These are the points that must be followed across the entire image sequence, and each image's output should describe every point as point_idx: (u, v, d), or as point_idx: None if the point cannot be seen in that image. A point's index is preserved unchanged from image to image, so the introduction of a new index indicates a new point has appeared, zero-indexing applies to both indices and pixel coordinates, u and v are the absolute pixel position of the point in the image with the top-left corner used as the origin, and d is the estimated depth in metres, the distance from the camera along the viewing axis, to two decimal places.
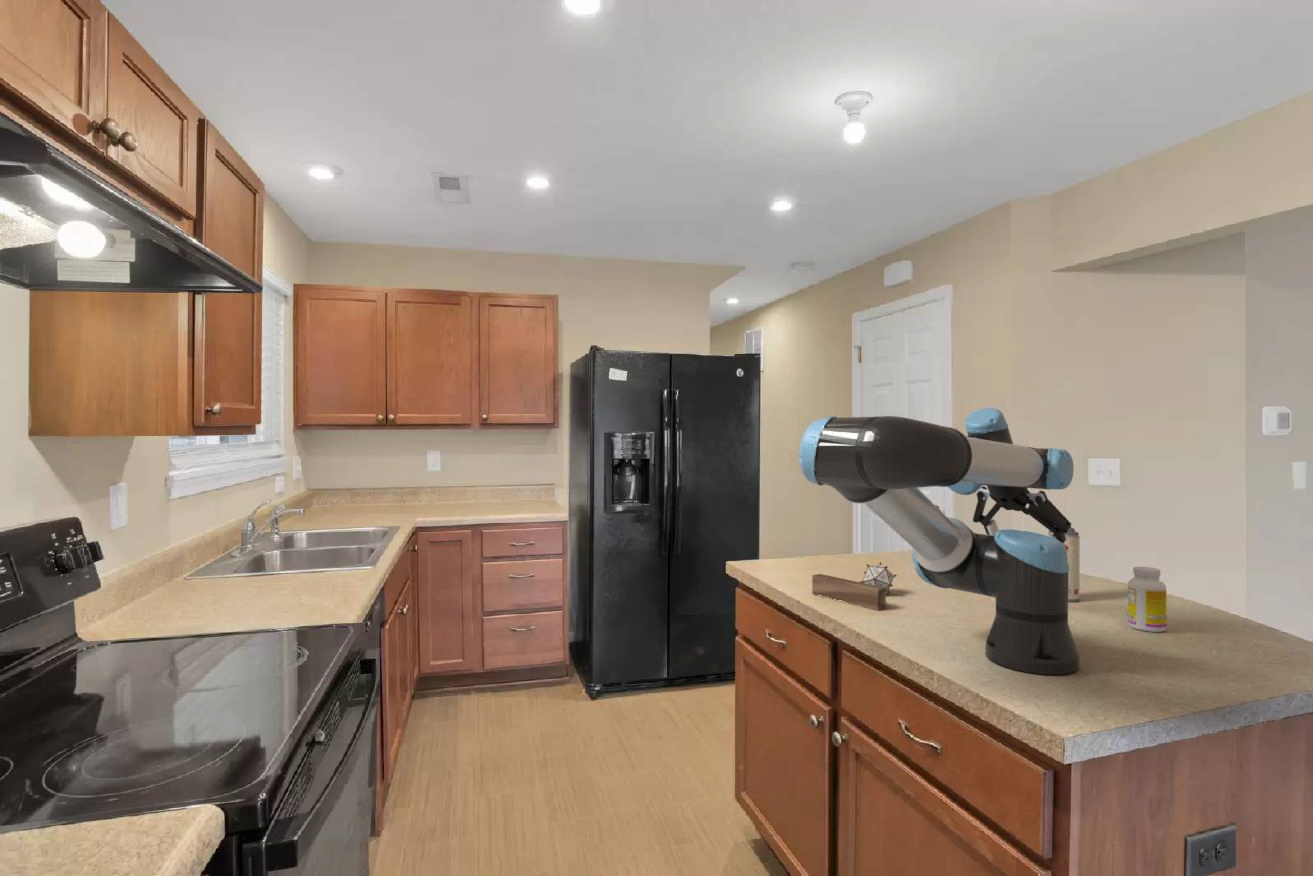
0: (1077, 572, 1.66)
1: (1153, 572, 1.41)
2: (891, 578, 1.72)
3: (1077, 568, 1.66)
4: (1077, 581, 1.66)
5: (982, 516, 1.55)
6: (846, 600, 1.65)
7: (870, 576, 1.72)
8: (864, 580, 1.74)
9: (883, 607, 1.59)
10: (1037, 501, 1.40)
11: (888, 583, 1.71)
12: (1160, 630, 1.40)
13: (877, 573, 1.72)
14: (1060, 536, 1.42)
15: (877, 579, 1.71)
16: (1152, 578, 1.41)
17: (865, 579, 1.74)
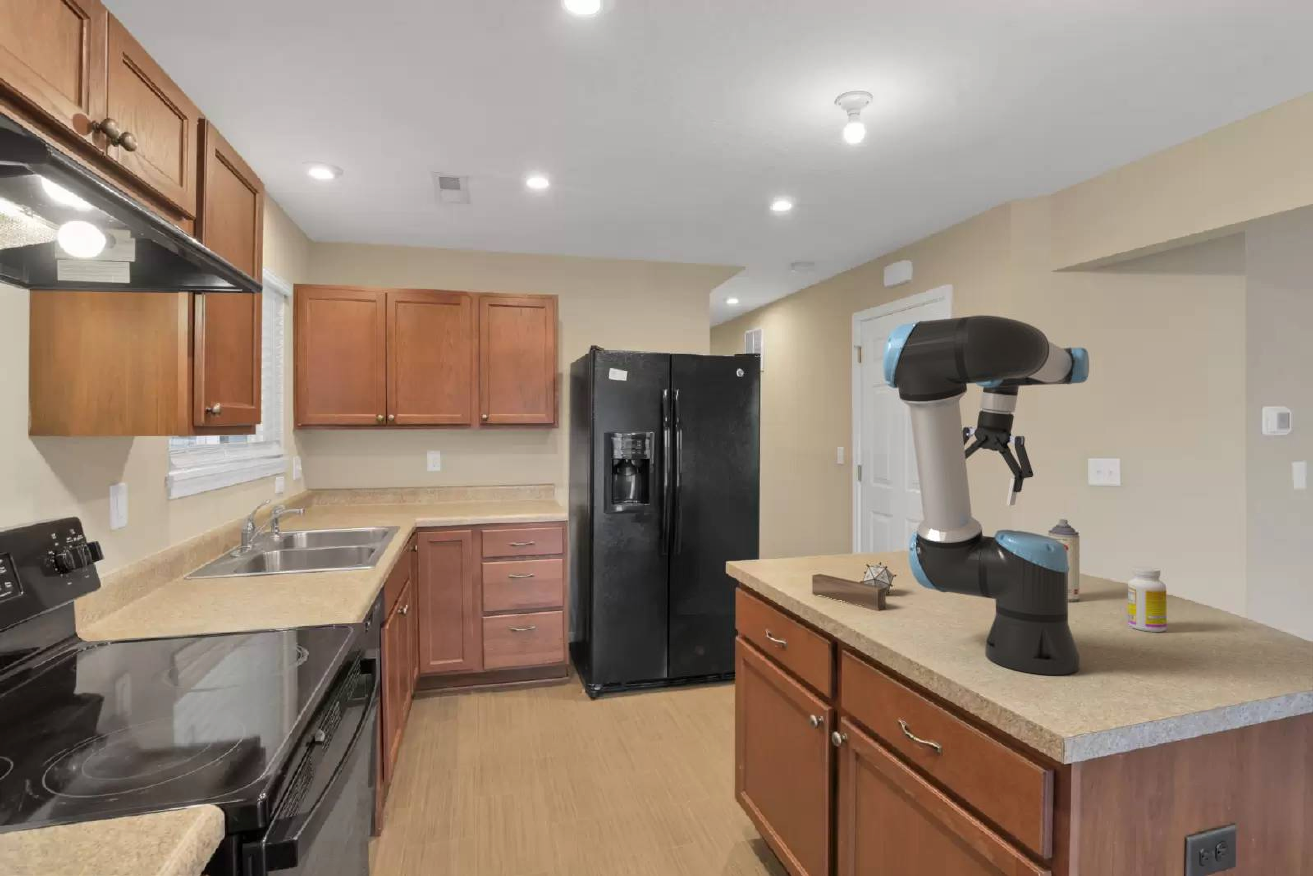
0: (1077, 572, 1.66)
1: (1153, 572, 1.41)
2: (891, 578, 1.72)
3: (1077, 568, 1.66)
4: (1077, 581, 1.66)
5: None
6: (846, 600, 1.65)
7: (870, 576, 1.72)
8: (864, 580, 1.74)
9: (883, 607, 1.59)
10: (1016, 440, 1.55)
11: (888, 583, 1.71)
12: (1160, 630, 1.40)
13: (877, 573, 1.72)
14: (1019, 483, 1.55)
15: (877, 579, 1.71)
16: (1152, 578, 1.41)
17: (865, 579, 1.74)
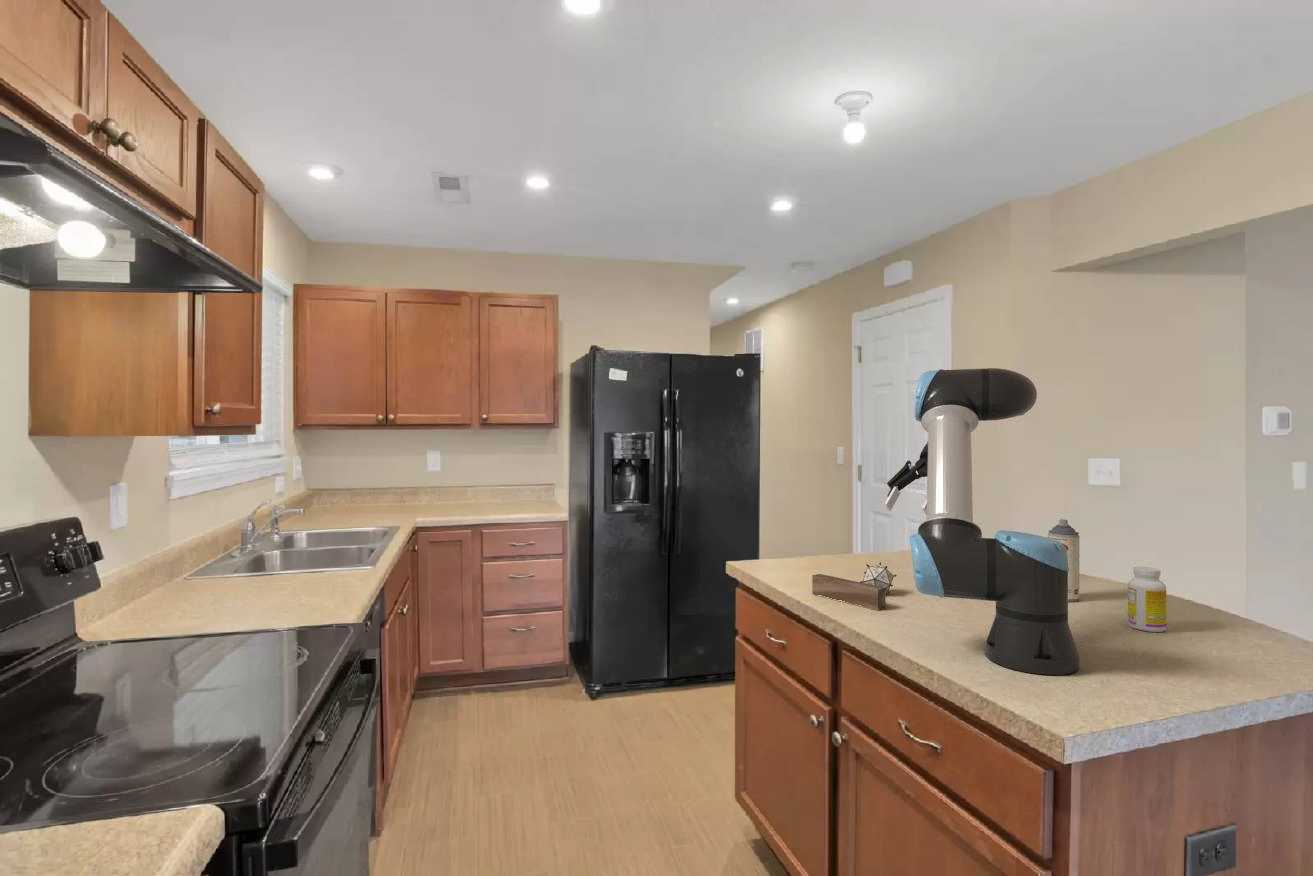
0: (1077, 572, 1.66)
1: (1153, 572, 1.41)
2: (891, 578, 1.72)
3: (1077, 568, 1.66)
4: (1077, 581, 1.66)
5: None
6: (846, 600, 1.65)
7: (870, 576, 1.72)
8: (864, 580, 1.74)
9: (883, 607, 1.59)
10: None
11: (888, 583, 1.71)
12: (1160, 630, 1.40)
13: (877, 573, 1.72)
14: None
15: (877, 579, 1.71)
16: (1152, 578, 1.41)
17: (865, 579, 1.74)
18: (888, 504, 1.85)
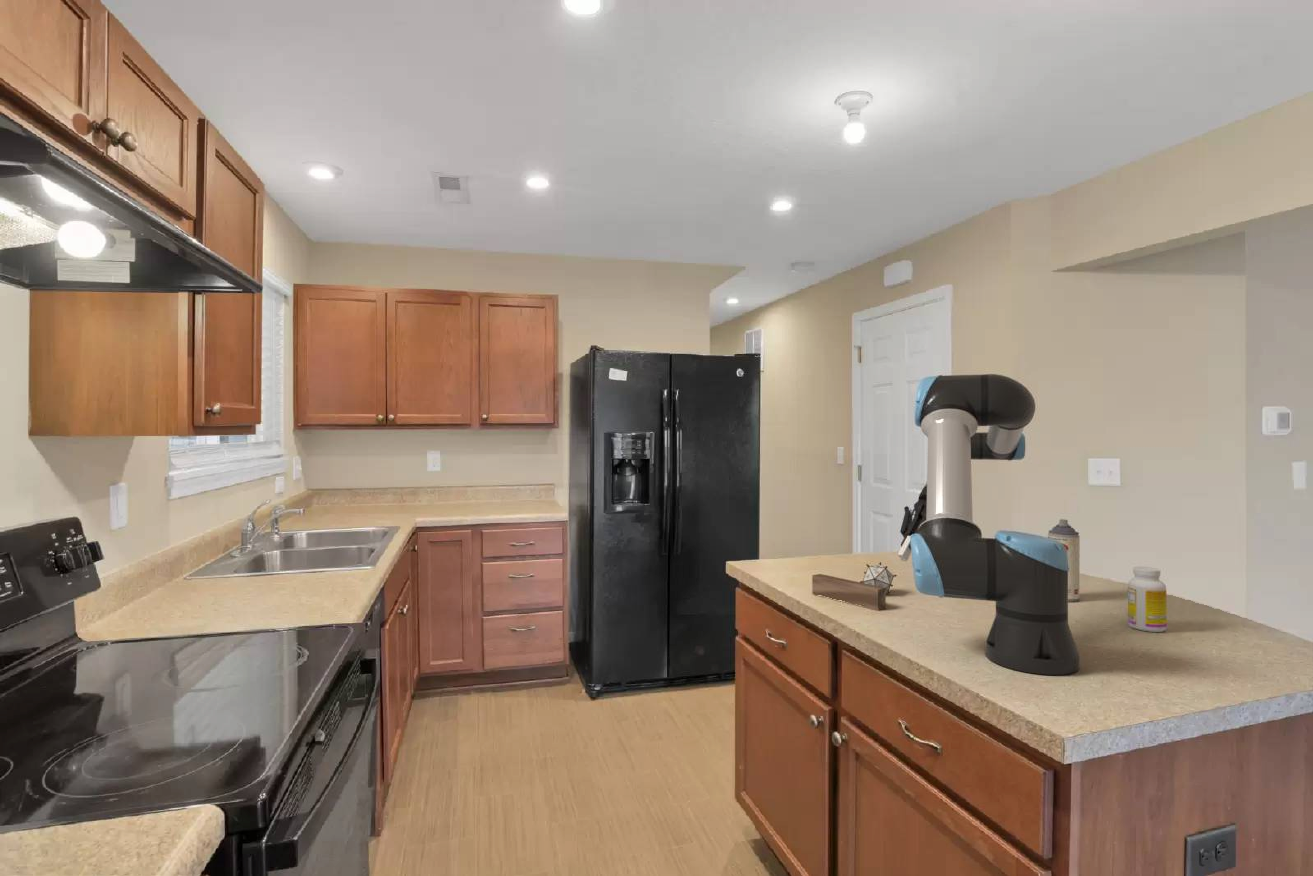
0: (1077, 572, 1.66)
1: (1153, 572, 1.41)
2: (891, 578, 1.72)
3: (1077, 568, 1.66)
4: (1077, 581, 1.66)
5: None
6: (846, 600, 1.65)
7: (870, 576, 1.72)
8: (864, 580, 1.74)
9: (883, 607, 1.59)
10: None
11: (888, 583, 1.71)
12: (1160, 630, 1.40)
13: (877, 573, 1.72)
14: None
15: (877, 579, 1.71)
16: (1152, 578, 1.41)
17: (865, 579, 1.74)
18: None
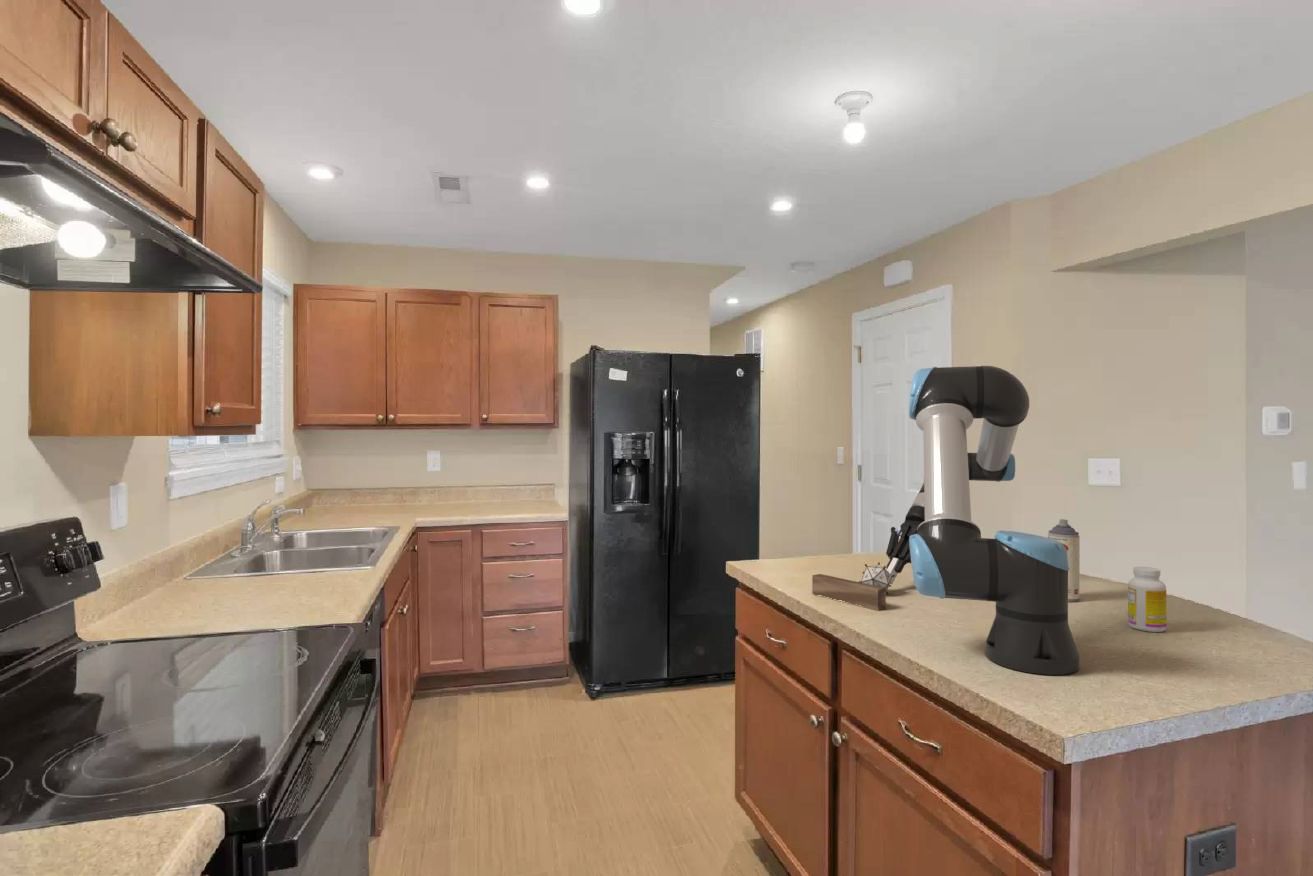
0: (1077, 572, 1.66)
1: (1153, 572, 1.41)
2: (889, 578, 1.72)
3: (1077, 568, 1.66)
4: (1077, 581, 1.66)
5: None
6: (846, 600, 1.65)
7: (868, 576, 1.72)
8: (862, 580, 1.73)
9: (883, 607, 1.59)
10: None
11: (886, 583, 1.70)
12: (1160, 630, 1.40)
13: (875, 573, 1.71)
14: (901, 563, 1.77)
15: (875, 579, 1.70)
16: (1152, 578, 1.41)
17: (863, 579, 1.73)
18: None
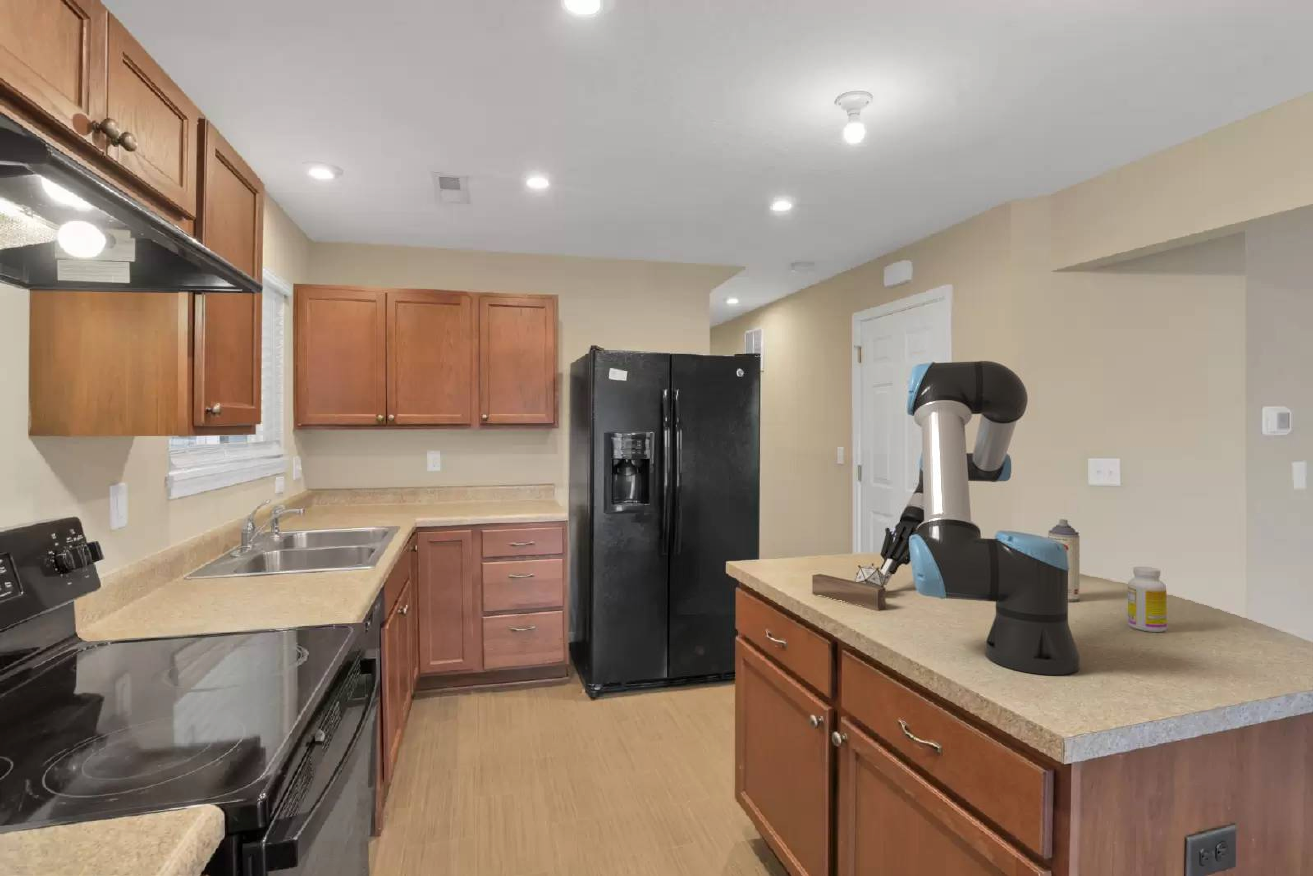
0: (1077, 572, 1.66)
1: (1153, 572, 1.41)
2: (883, 579, 1.71)
3: (1077, 568, 1.66)
4: (1077, 581, 1.66)
5: None
6: (846, 600, 1.65)
7: (861, 577, 1.71)
8: (856, 581, 1.72)
9: (883, 607, 1.59)
10: None
11: (880, 584, 1.69)
12: (1160, 630, 1.40)
13: (869, 574, 1.70)
14: (895, 564, 1.76)
15: (868, 580, 1.69)
16: (1152, 578, 1.41)
17: (857, 580, 1.72)
18: None
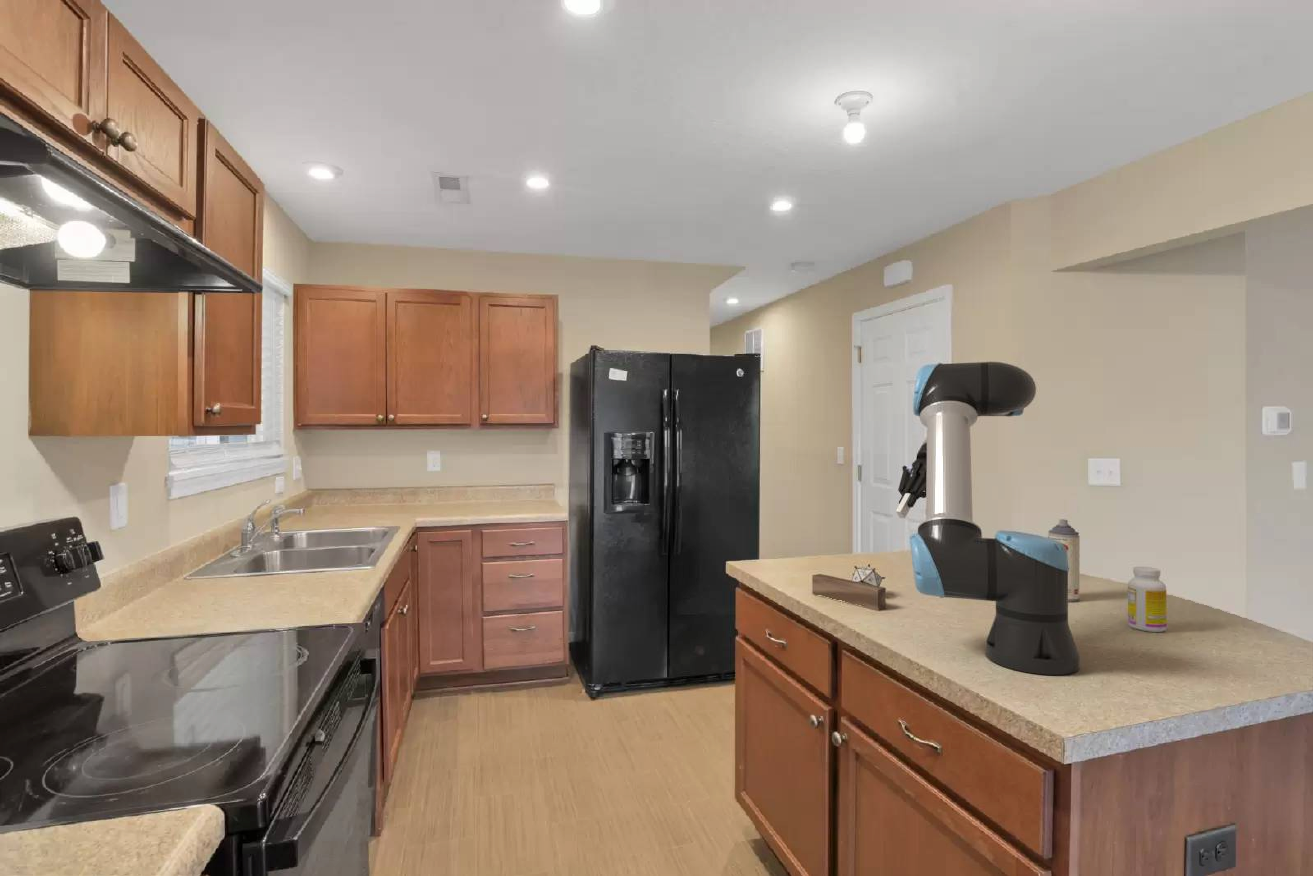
0: (1077, 572, 1.66)
1: (1153, 572, 1.41)
2: (879, 580, 1.70)
3: (1077, 568, 1.66)
4: (1077, 581, 1.66)
5: None
6: (846, 600, 1.65)
7: (857, 578, 1.70)
8: None
9: (883, 607, 1.59)
10: None
11: (876, 585, 1.68)
12: (1160, 630, 1.40)
13: (865, 575, 1.69)
14: (913, 497, 1.80)
15: (864, 581, 1.68)
16: (1152, 578, 1.41)
17: None
18: None
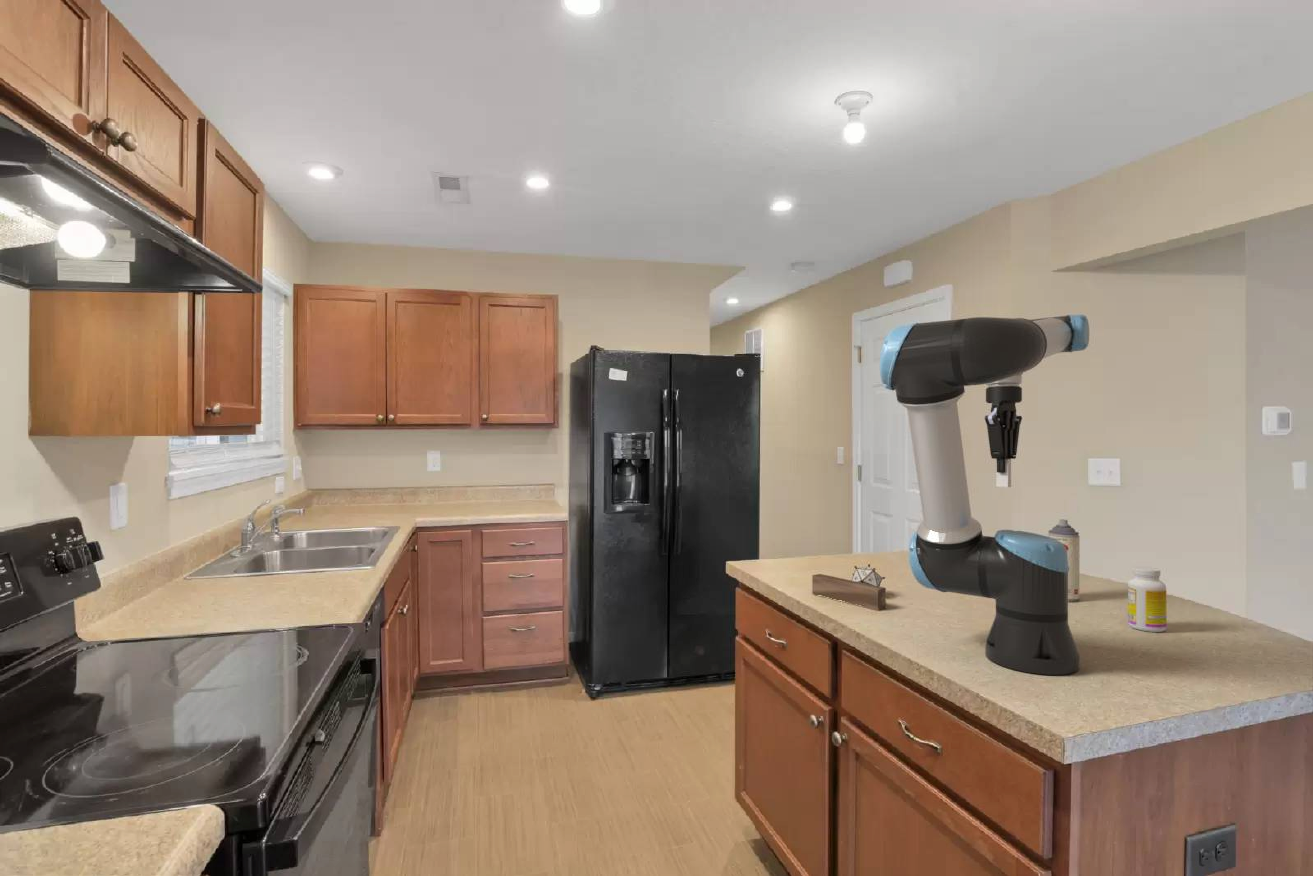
0: (1077, 572, 1.66)
1: (1153, 572, 1.41)
2: (879, 580, 1.70)
3: (1077, 568, 1.66)
4: (1077, 581, 1.66)
5: None
6: (846, 600, 1.65)
7: (857, 578, 1.70)
8: None
9: (883, 607, 1.59)
10: None
11: (876, 585, 1.68)
12: (1160, 630, 1.40)
13: (865, 575, 1.69)
14: None
15: (864, 581, 1.68)
16: (1152, 578, 1.41)
17: None
18: None
